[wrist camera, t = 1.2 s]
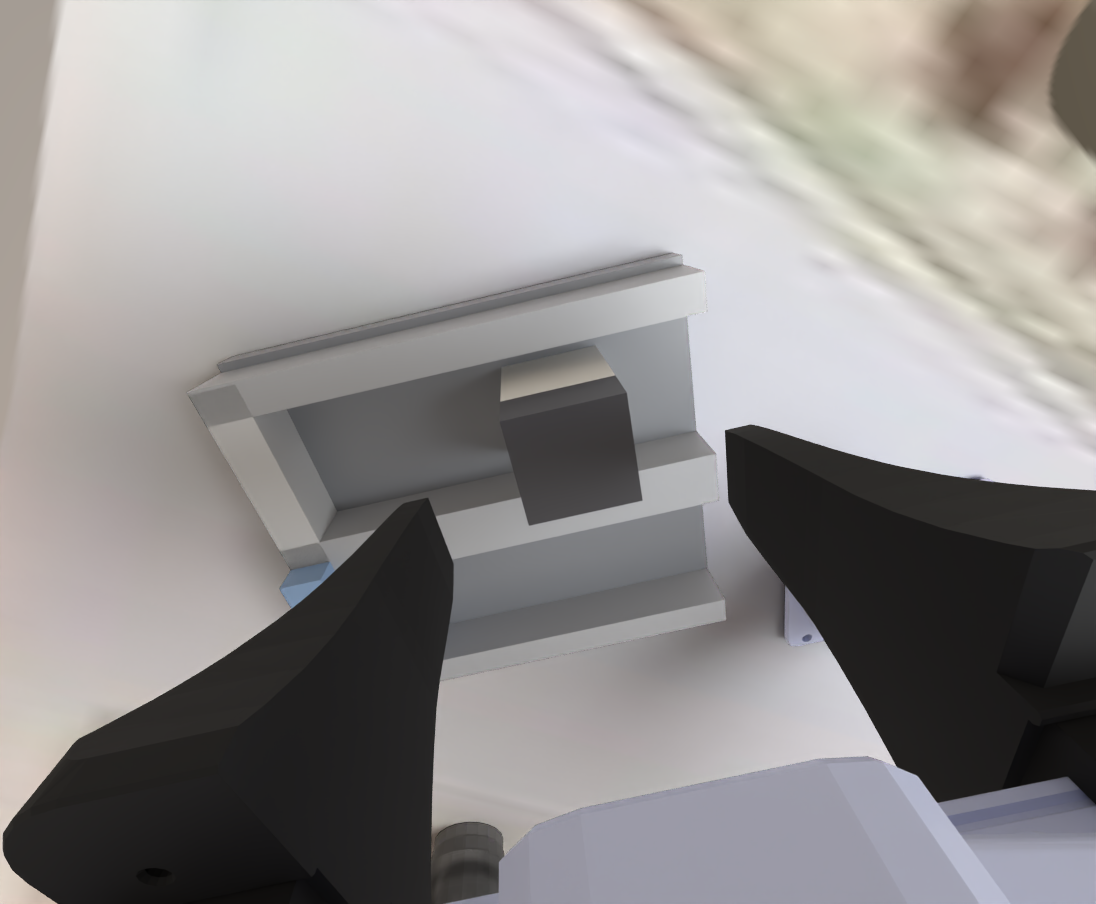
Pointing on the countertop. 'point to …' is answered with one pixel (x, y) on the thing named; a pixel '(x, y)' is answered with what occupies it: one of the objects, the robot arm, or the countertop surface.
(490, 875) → the beverage cup
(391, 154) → the countertop surface
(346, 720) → the robot arm
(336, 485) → the grey tray
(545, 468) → the grey rectangular block
